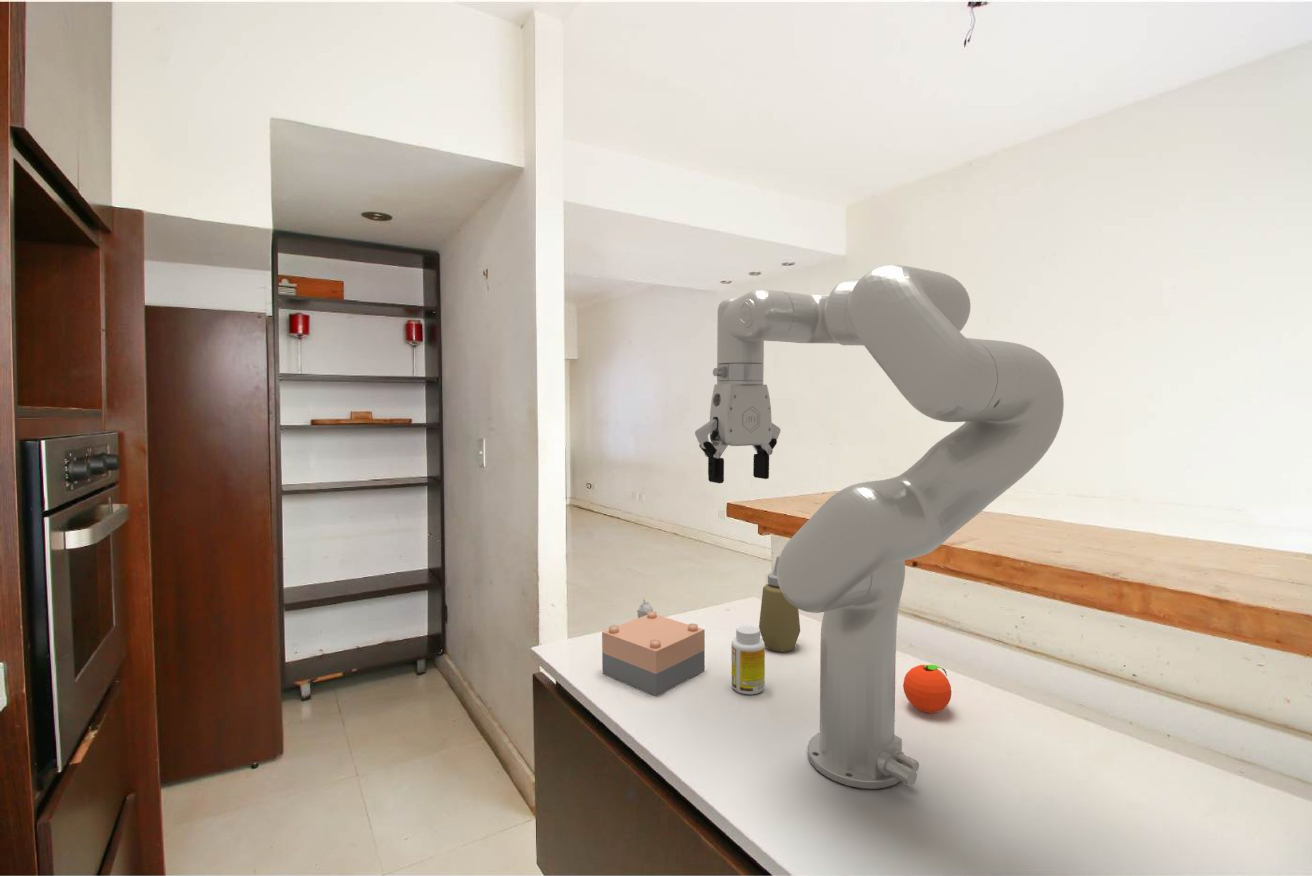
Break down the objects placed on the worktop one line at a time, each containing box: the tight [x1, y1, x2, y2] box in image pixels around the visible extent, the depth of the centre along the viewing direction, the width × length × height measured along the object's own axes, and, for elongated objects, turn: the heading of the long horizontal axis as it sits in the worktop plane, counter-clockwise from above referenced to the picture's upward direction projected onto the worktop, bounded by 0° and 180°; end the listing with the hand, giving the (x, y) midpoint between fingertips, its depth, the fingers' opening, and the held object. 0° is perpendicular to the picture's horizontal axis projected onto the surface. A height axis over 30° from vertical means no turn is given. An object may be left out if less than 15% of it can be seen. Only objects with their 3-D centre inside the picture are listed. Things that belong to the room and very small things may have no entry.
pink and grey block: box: [601, 610, 706, 697], centre depth 109 cm, size 13×13×8 cm
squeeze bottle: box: [758, 555, 801, 652], centre depth 120 cm, size 8×8×18 cm
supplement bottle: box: [731, 624, 766, 696], centre depth 103 cm, size 6×6×10 cm
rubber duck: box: [636, 598, 654, 619], centre depth 126 cm, size 5×7×8 cm
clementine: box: [902, 664, 952, 714], centre depth 95 cm, size 8×7×7 cm
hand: (739, 480), depth 100 cm, fingers open, 9 cm apart
